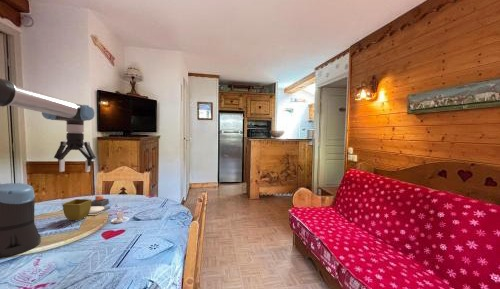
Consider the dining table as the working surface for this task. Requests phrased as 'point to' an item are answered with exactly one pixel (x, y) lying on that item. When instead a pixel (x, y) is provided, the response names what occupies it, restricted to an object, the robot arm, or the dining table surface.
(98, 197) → the button
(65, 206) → the flower pot
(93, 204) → the button housing
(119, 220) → the teacup and saucer
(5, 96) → the robot arm
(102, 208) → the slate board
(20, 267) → the dining table surface
